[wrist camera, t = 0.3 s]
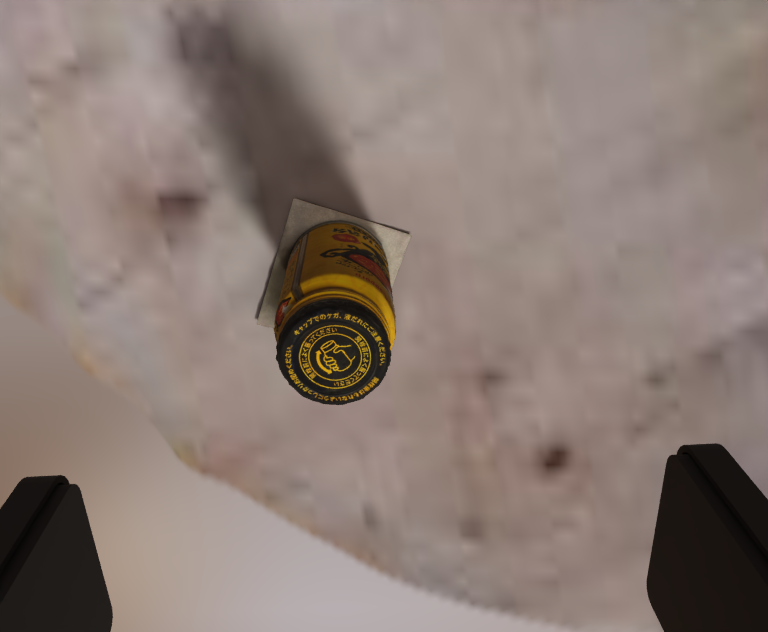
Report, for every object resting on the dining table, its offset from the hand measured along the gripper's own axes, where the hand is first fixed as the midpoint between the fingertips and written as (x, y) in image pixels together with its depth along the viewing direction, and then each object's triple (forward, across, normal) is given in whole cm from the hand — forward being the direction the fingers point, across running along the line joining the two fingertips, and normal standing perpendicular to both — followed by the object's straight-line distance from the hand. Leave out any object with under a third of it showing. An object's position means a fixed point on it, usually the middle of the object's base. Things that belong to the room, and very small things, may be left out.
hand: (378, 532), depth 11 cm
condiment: (+31, +2, +8) cm, 32 cm away
